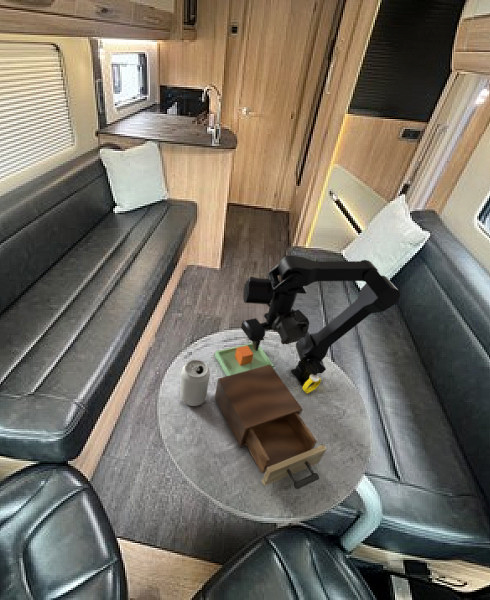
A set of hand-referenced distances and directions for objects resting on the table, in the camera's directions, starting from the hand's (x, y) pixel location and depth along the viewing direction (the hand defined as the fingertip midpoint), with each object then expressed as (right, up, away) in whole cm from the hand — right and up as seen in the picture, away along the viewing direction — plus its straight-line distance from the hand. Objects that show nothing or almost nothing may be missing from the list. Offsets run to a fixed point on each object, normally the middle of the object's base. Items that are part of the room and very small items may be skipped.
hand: (269, 346), depth 93 cm
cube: (-6, -6, +11) cm, 14 cm away
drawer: (0, -24, -14) cm, 28 cm away
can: (-22, -14, -2) cm, 26 cm away
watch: (+13, -14, +4) cm, 19 cm away
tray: (-6, -7, +10) cm, 14 cm away
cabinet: (-5, -17, -4) cm, 19 cm away
